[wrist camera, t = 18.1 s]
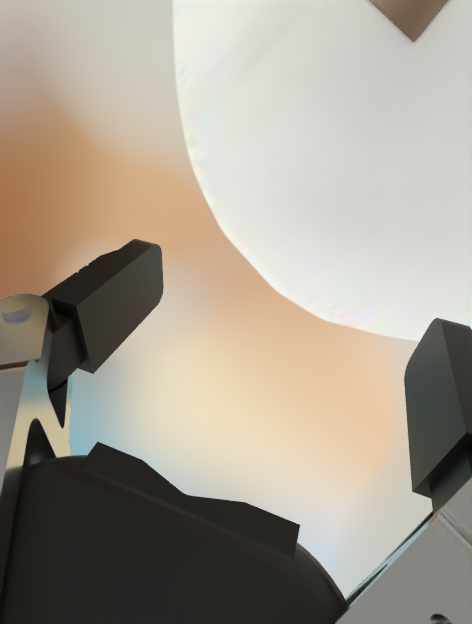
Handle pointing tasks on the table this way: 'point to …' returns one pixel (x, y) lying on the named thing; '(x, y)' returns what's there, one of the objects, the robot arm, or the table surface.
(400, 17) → the base plate
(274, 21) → the table surface
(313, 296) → the table surface
